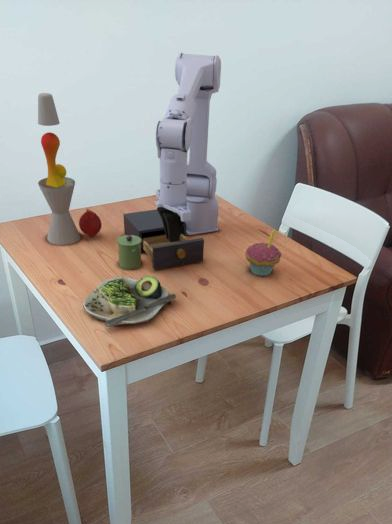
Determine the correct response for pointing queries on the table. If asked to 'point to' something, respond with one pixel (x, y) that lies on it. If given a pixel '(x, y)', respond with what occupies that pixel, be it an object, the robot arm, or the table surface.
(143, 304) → the avocado toast plate
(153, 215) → the cabinet
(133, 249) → the pot
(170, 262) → the drawer
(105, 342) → the table surface
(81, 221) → the onion
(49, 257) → the table surface
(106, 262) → the table surface
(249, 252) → the cupcake
